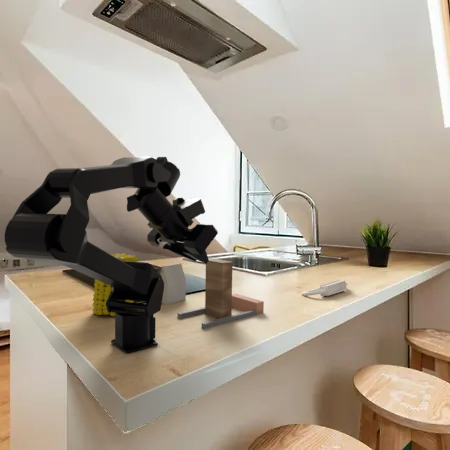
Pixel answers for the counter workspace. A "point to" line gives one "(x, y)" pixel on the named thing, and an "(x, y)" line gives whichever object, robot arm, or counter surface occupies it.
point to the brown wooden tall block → (218, 288)
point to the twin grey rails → (238, 302)
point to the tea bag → (173, 283)
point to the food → (107, 289)
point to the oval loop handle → (327, 288)
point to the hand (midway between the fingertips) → (201, 261)
